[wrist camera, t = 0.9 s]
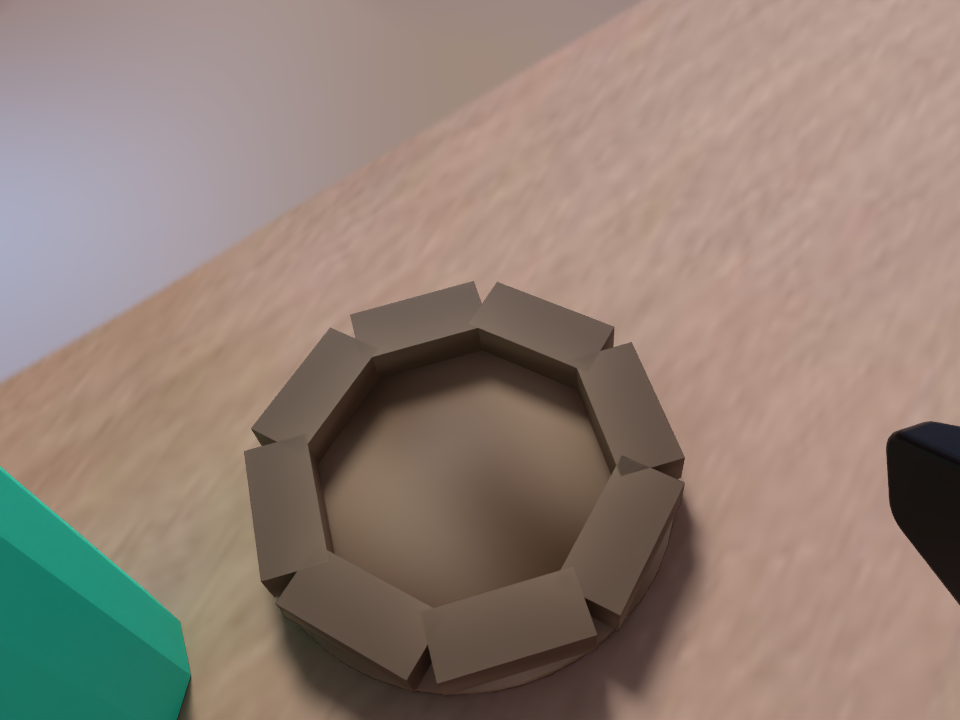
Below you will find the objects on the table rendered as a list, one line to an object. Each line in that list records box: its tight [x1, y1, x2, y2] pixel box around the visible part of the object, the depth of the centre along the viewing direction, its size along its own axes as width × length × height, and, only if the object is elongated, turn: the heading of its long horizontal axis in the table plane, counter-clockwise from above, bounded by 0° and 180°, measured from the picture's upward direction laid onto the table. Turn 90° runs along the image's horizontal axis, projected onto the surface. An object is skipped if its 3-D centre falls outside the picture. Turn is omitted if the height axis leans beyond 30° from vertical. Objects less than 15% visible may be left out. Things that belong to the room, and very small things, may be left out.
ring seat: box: [244, 281, 685, 696], centre depth 25 cm, size 12×12×2 cm
